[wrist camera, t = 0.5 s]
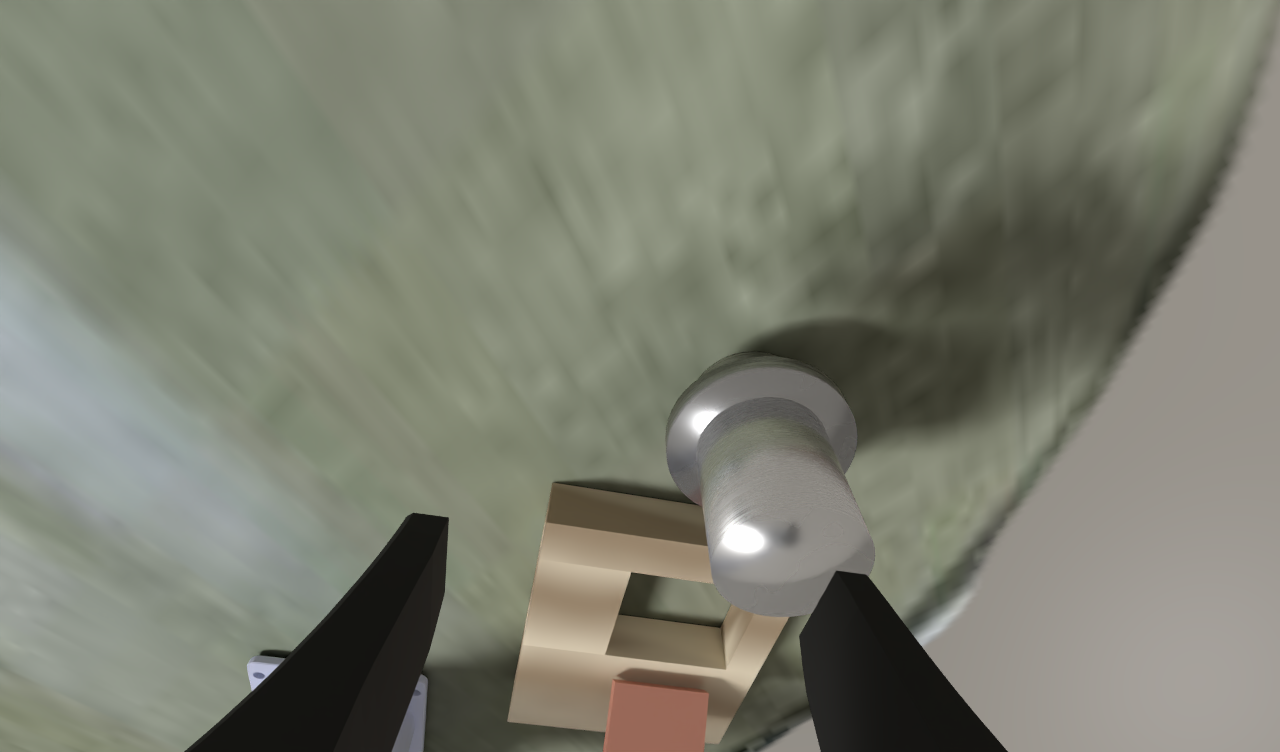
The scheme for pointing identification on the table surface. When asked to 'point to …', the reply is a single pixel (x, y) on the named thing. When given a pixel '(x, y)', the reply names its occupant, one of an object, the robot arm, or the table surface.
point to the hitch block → (617, 644)
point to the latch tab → (655, 718)
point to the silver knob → (770, 480)
